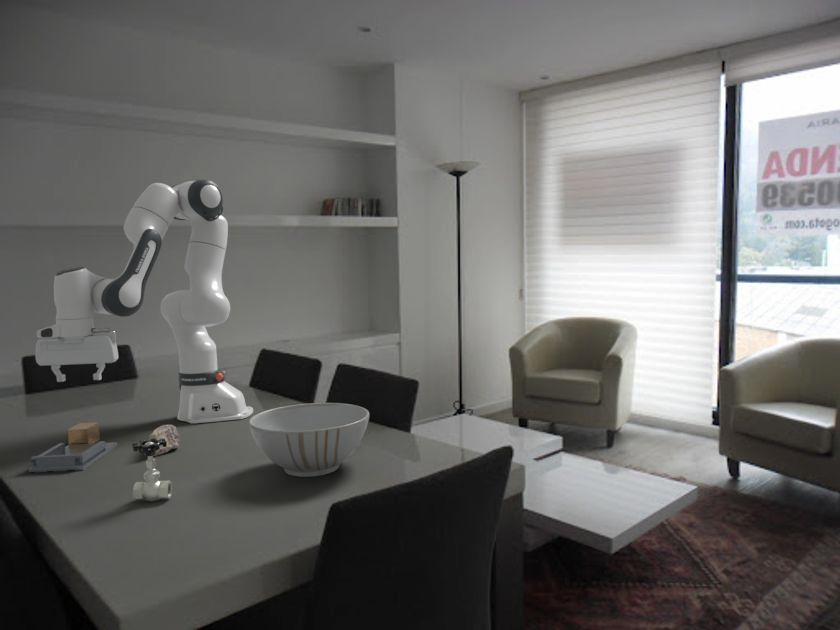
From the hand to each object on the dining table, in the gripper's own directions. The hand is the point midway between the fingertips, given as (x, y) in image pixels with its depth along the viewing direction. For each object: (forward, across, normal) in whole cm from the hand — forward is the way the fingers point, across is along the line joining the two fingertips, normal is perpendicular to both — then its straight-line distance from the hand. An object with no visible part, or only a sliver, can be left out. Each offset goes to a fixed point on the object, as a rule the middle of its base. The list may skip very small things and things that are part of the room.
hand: (79, 380), depth 178 cm
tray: (+17, -4, +14) cm, 22 cm away
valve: (+17, -34, +47) cm, 61 cm away
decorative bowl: (+17, -64, +31) cm, 73 cm away
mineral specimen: (+17, -24, +10) cm, 31 cm away
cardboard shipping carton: (+17, 0, 0) cm, 17 cm away
